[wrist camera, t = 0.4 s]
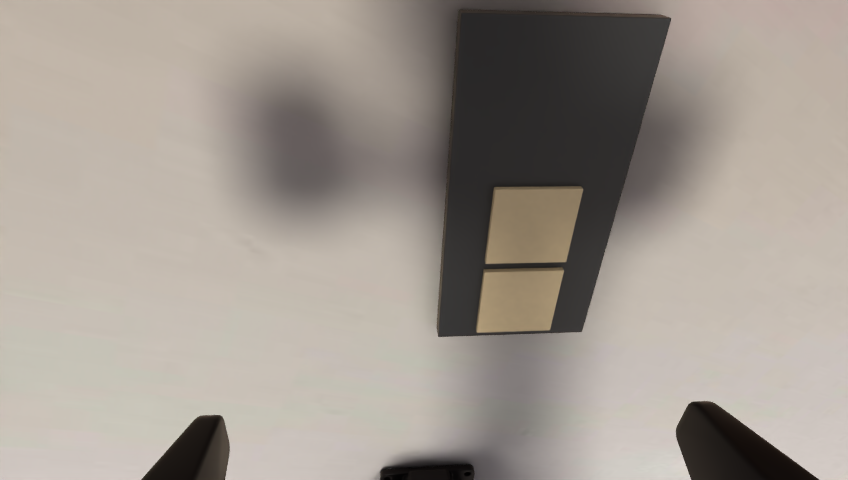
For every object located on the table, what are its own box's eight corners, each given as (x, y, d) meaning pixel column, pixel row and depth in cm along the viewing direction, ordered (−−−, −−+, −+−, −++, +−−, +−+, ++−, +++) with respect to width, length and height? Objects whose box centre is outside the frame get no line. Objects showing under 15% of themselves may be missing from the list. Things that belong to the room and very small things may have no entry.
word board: (577, 322, 28) (583, 336, 27) (436, 327, 27) (438, 341, 26) (661, 14, 19) (676, 19, 18) (458, 8, 18) (462, 13, 18)
